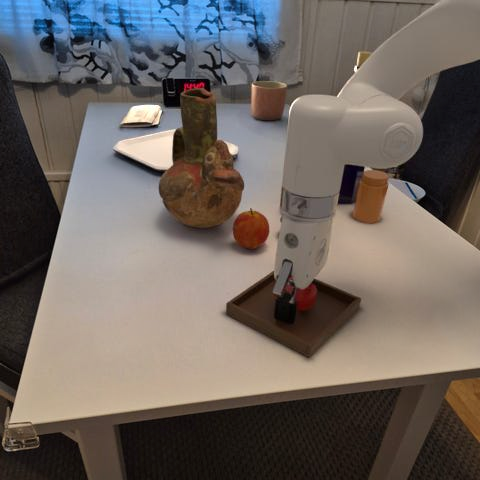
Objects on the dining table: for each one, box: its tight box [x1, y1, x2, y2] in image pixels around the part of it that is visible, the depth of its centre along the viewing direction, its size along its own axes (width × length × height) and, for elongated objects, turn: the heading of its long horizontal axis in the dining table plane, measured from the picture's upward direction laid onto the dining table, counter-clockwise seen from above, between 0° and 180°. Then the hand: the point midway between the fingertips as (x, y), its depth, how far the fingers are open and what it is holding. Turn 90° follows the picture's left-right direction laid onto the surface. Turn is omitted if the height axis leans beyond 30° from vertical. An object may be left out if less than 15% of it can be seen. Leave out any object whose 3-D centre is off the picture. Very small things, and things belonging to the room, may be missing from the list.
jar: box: [352, 169, 390, 224], centre depth 96 cm, size 6×6×10 cm
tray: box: [225, 270, 362, 358], centre depth 70 cm, size 15×15×2 cm
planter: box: [250, 80, 288, 121], centre depth 159 cm, size 12×12×11 cm
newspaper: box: [119, 104, 163, 128], centre depth 155 cm, size 23×12×2 cm, turn 1°
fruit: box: [232, 207, 270, 250], centre depth 84 cm, size 7×7×8 cm
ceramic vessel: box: [158, 87, 245, 229], centre depth 85 cm, size 17×26×25 cm, turn 29°
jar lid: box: [274, 277, 317, 311], centre depth 68 cm, size 6×6×2 cm
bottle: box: [337, 51, 373, 205], centre depth 98 cm, size 9×9×30 cm
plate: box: [112, 128, 239, 173], centre depth 126 cm, size 29×29×2 cm
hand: (293, 307), depth 70 cm, fingers closed on jar lid, 6 cm apart
